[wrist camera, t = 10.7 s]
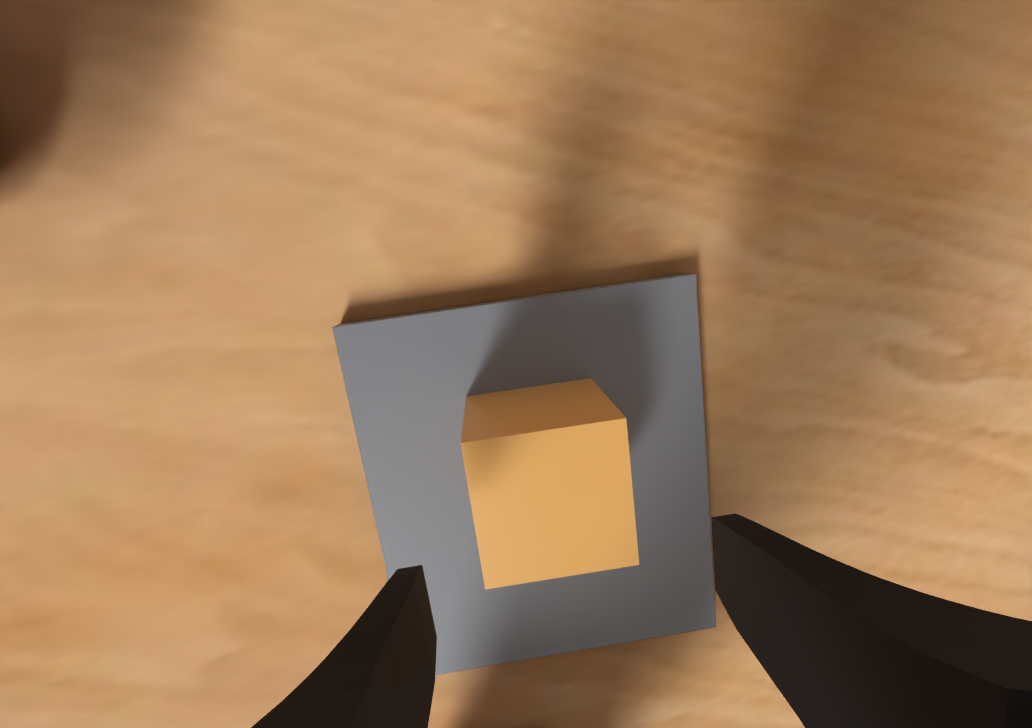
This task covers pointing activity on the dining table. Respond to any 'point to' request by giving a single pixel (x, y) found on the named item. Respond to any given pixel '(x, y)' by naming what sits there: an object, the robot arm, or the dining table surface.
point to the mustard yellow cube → (549, 482)
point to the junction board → (520, 364)
